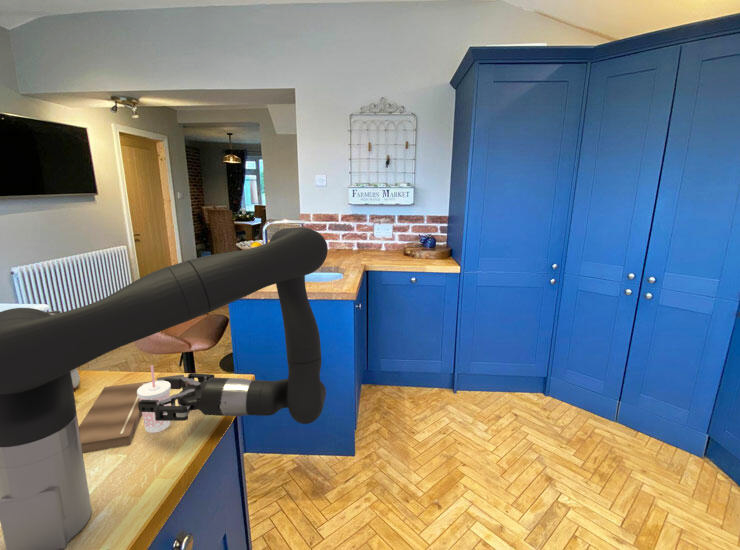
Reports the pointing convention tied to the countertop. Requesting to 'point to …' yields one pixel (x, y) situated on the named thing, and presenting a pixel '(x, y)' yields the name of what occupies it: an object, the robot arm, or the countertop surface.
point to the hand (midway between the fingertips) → (152, 393)
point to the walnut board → (113, 417)
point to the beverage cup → (154, 392)
